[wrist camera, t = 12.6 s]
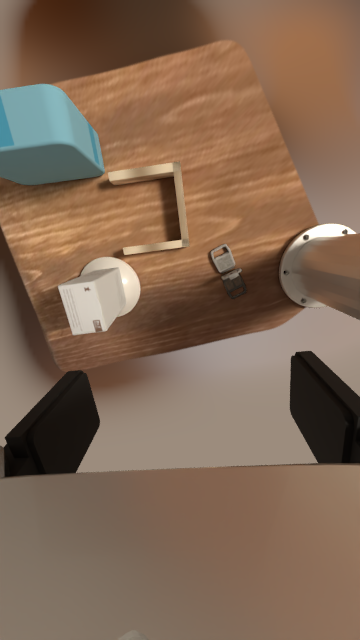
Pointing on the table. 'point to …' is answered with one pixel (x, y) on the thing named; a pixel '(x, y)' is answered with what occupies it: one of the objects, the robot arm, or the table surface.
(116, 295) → the skincare box
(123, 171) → the stand
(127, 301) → the ceramic coaster
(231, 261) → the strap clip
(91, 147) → the data package
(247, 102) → the table surface
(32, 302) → the table surface
